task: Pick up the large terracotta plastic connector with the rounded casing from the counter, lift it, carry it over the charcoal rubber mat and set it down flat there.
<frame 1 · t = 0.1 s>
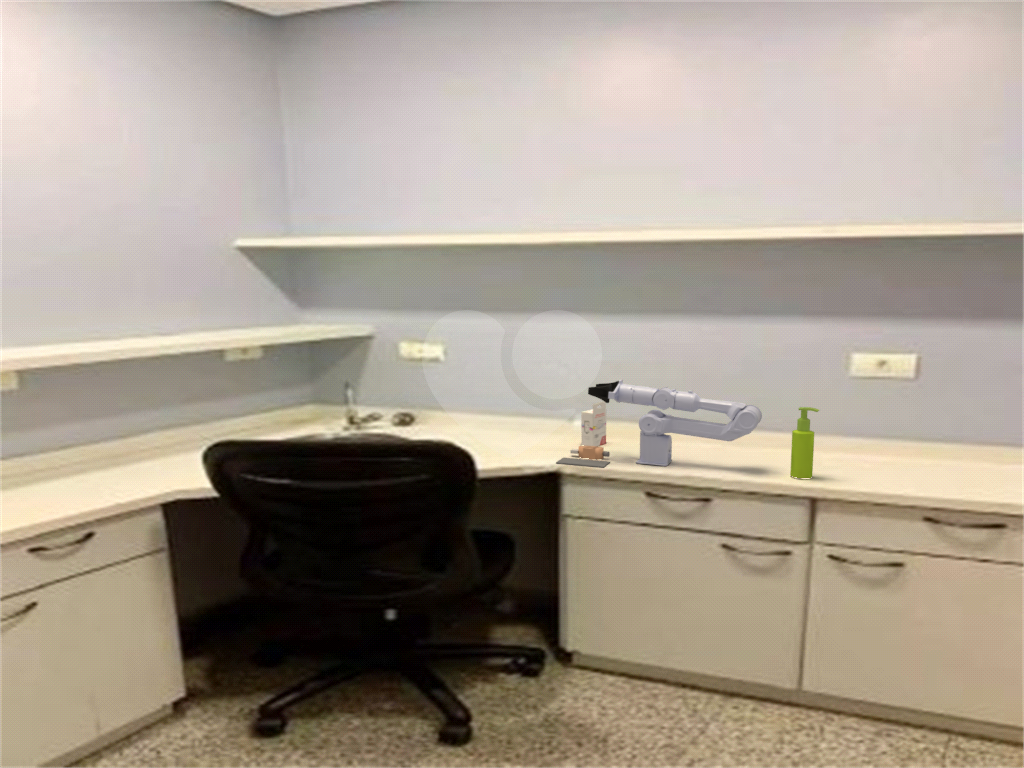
hand: (592, 389, 258), 22 cm above the counter, tool horizontal, fingers open, 7 cm apart
mat: (583, 463, 253), on the counter
connector: (590, 458, 260), on the counter
soap dispenser: (803, 477, 235), on the counter
ink cartridge box: (593, 445, 280), on the counter
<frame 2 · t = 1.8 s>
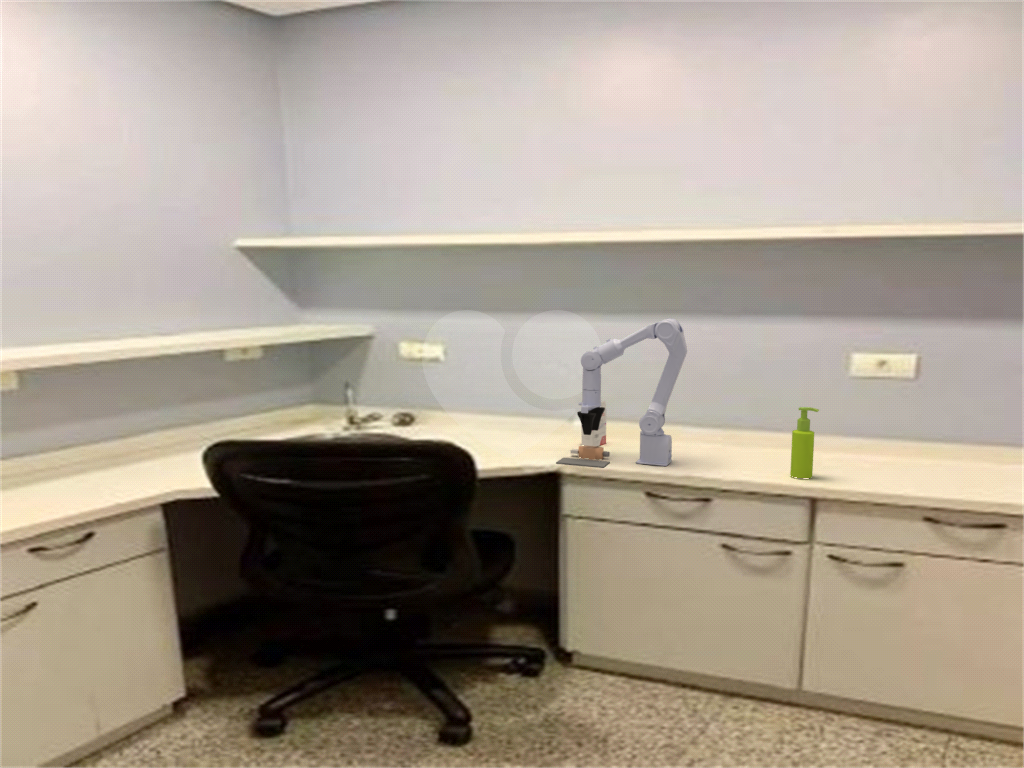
hand: (591, 432, 259), 8 cm above the counter, tool pointing down, fingers open, 7 cm apart
nothing on the counter moved.
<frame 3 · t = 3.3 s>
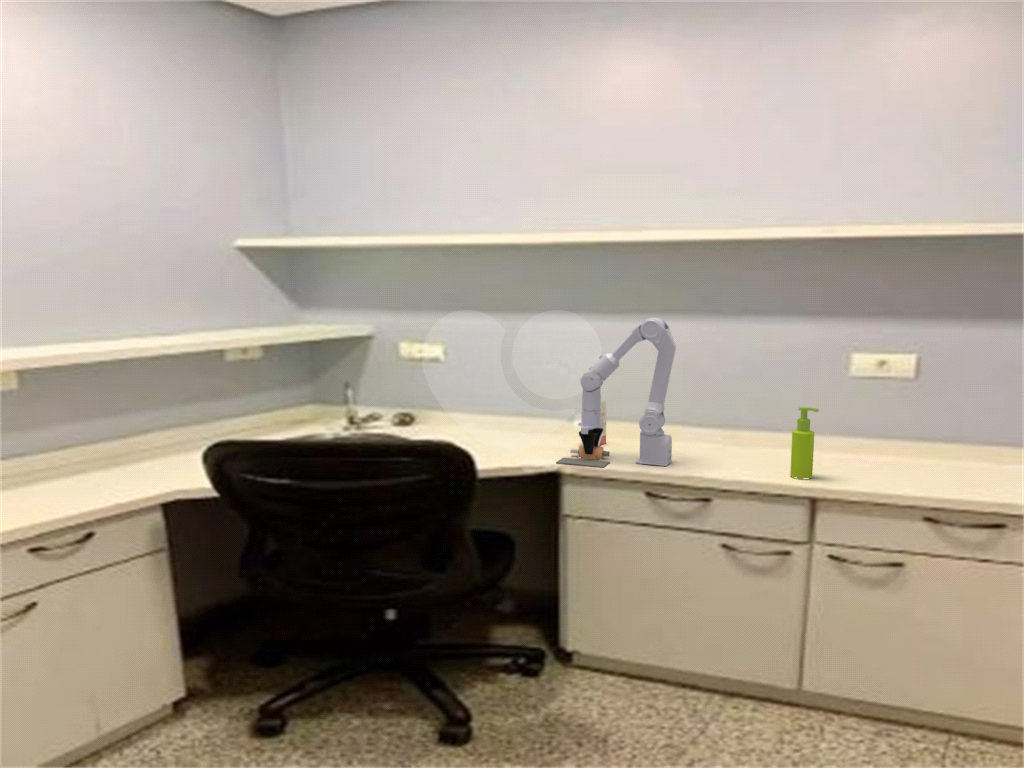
hand: (590, 452, 260), 2 cm above the counter, tool pointing down, fingers closed on connector, 4 cm apart
connector: (590, 457, 260), on the counter, touching gripper
everything else where it was.
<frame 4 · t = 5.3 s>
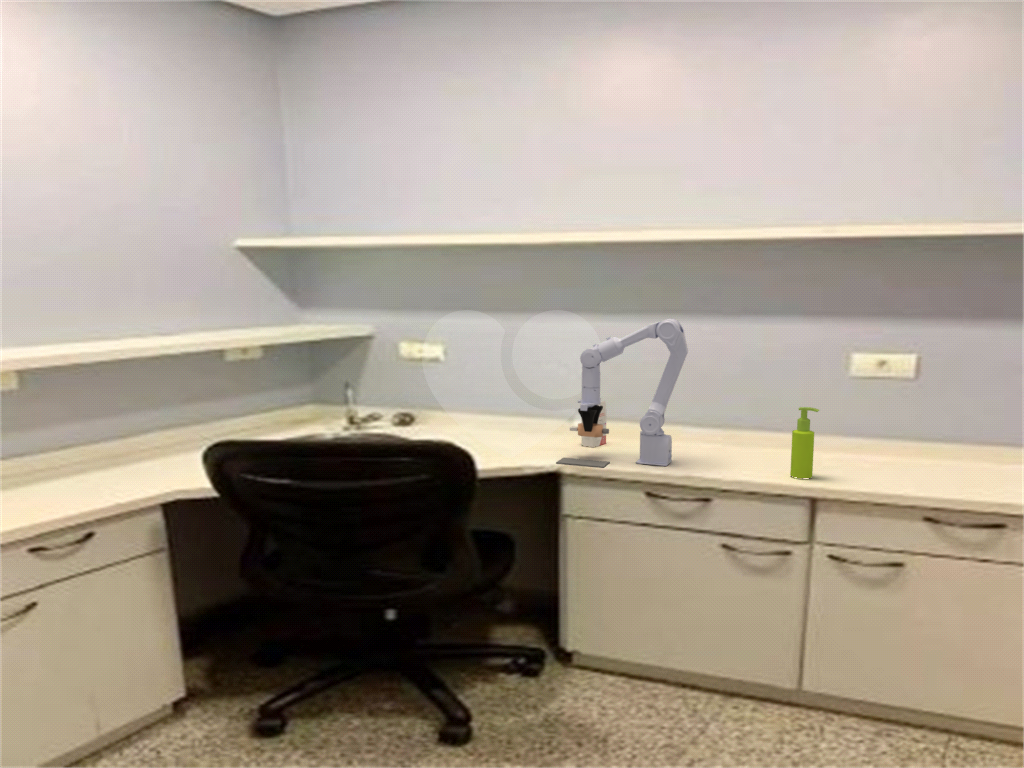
hand: (590, 430, 258), 9 cm above the counter, tool pointing down, fingers closed on connector, 4 cm apart
connector: (590, 435, 259), point 7 cm above the counter, touching gripper
everything else where it was.
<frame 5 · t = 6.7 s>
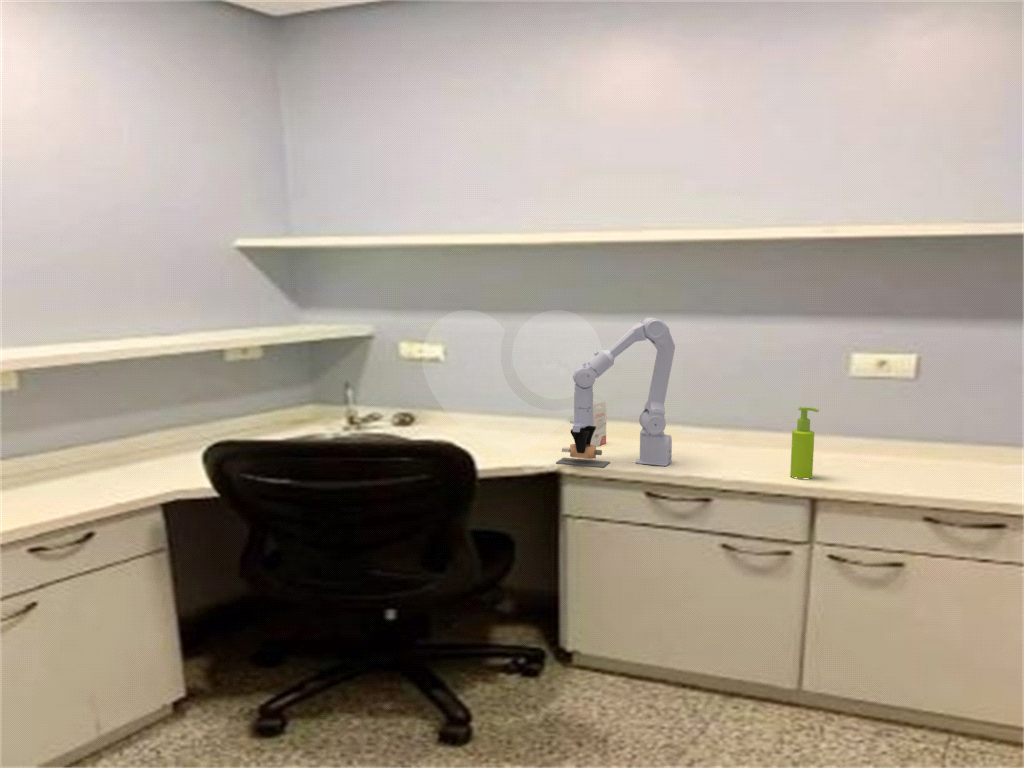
hand: (583, 451, 253), 4 cm above the counter, tool pointing down, fingers closed on connector, 4 cm apart
connector: (582, 456, 253), point 2 cm above the counter, touching gripper
everything else where it was.
when the fingers open (4 cm above the counter, at t = 7.5 s): connector drops 1 cm, resting on mat.
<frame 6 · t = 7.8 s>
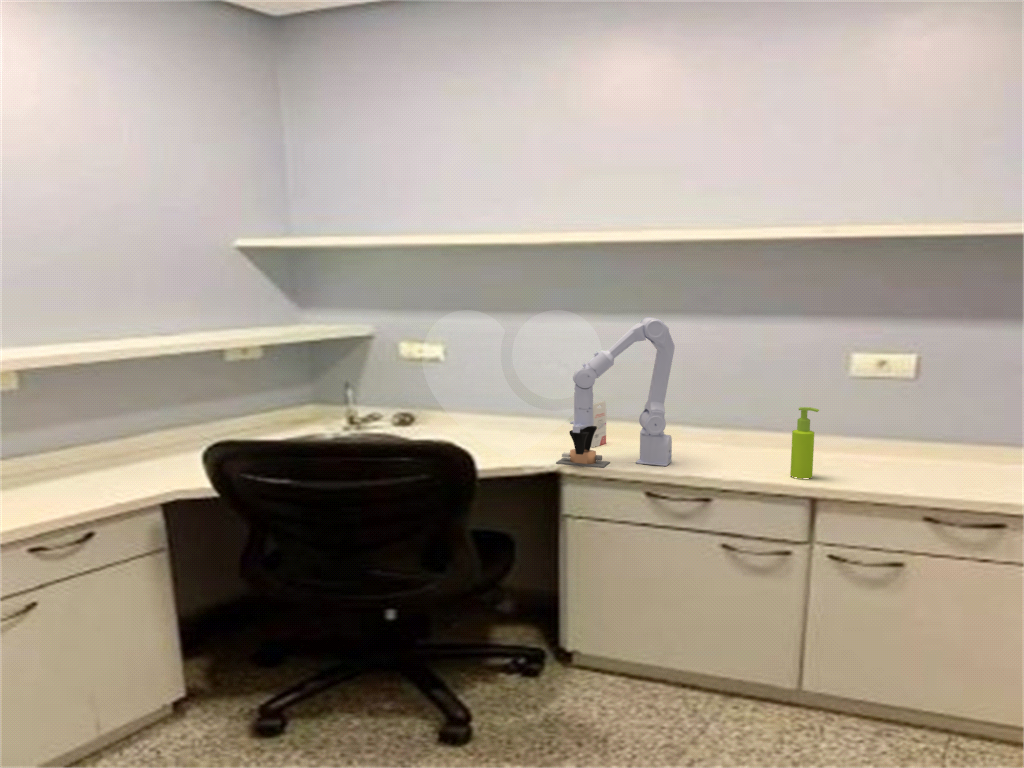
hand: (583, 451, 253), 4 cm above the counter, tool pointing down, fingers open, 6 cm apart
connector: (582, 461, 253), resting on mat
everything else where it was.
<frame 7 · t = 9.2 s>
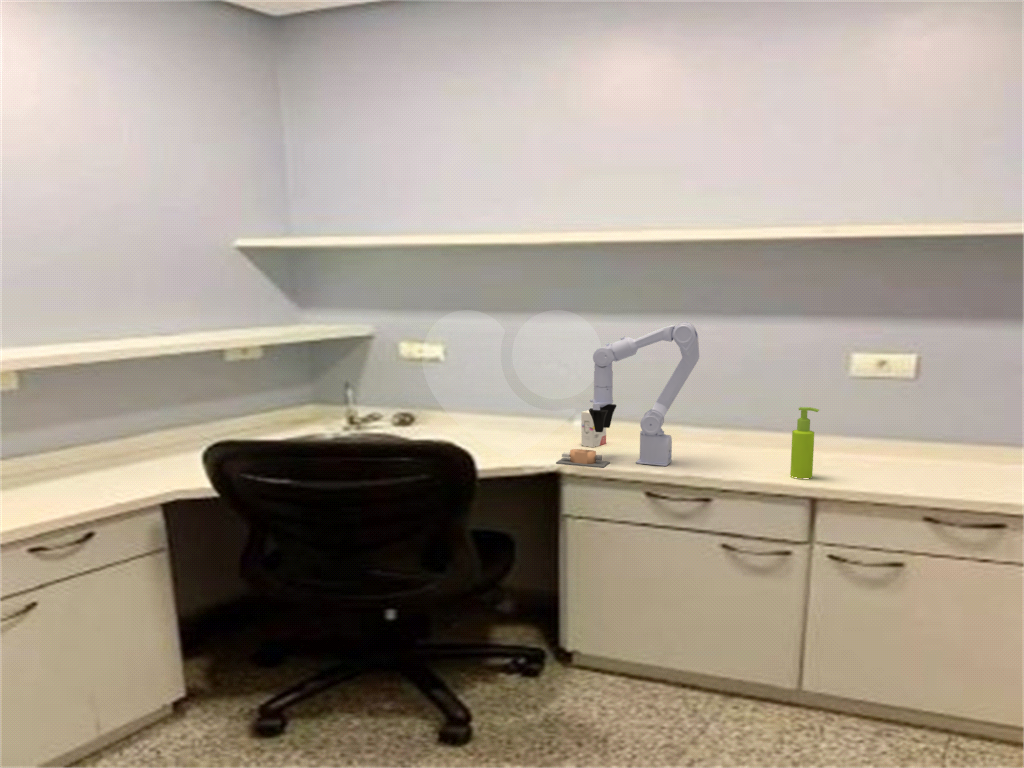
hand: (602, 429, 257), 9 cm above the counter, tool pointing down, fingers open, 7 cm apart
nothing on the counter moved.
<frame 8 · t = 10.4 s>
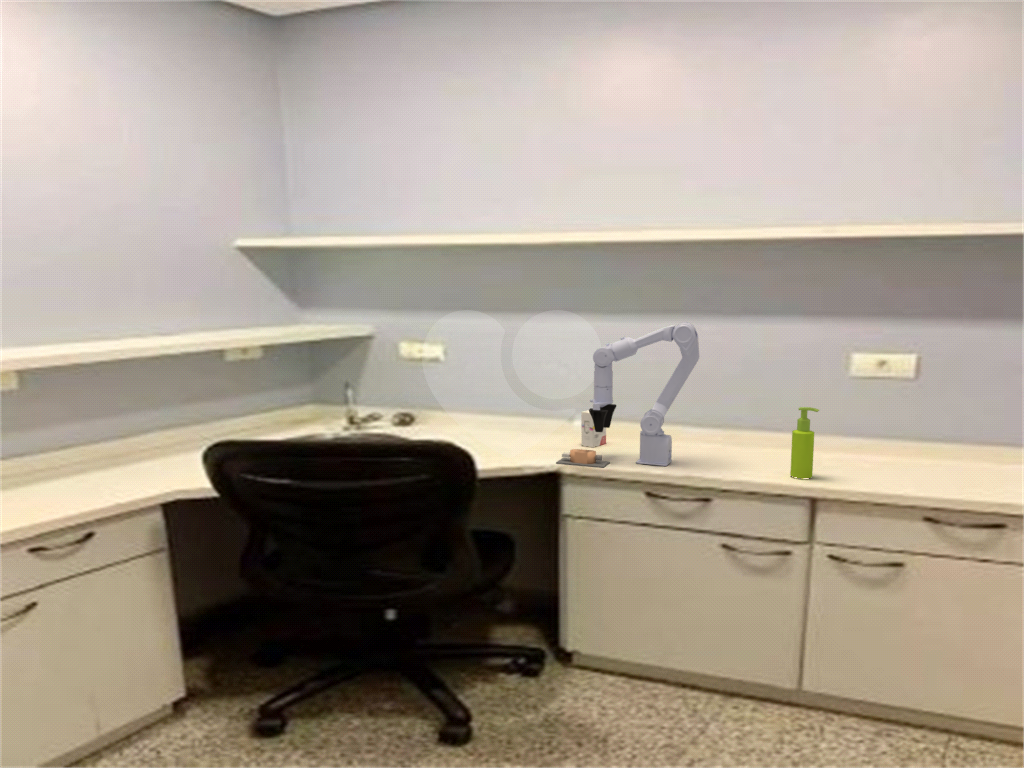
hand: (602, 429, 257), 9 cm above the counter, tool pointing down, fingers open, 7 cm apart
nothing on the counter moved.
at the end: connector touching mat; the gripper is holding nothing; connector tilted 0° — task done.
